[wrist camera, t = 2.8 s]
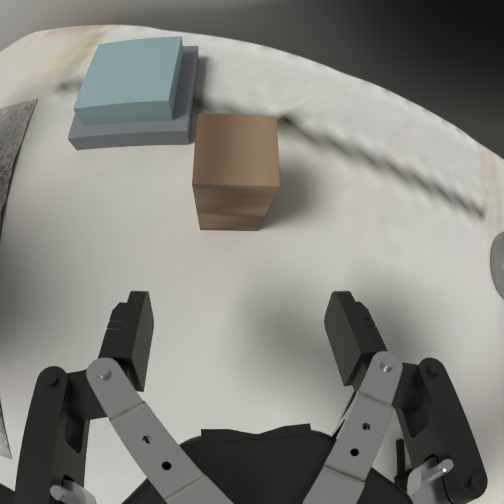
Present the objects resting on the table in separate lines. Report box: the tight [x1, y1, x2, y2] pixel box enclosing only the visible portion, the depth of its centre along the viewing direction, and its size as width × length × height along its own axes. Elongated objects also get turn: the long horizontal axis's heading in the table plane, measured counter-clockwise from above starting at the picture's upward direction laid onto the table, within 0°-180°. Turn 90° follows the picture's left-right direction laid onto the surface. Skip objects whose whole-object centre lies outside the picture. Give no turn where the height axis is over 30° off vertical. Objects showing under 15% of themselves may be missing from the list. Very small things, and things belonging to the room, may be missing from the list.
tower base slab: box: [68, 46, 198, 150], centre depth 28 cm, size 12×12×3 cm
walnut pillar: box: [192, 114, 280, 231], centre depth 23 cm, size 5×5×10 cm
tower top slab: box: [74, 36, 183, 126], centre depth 25 cm, size 9×9×3 cm
